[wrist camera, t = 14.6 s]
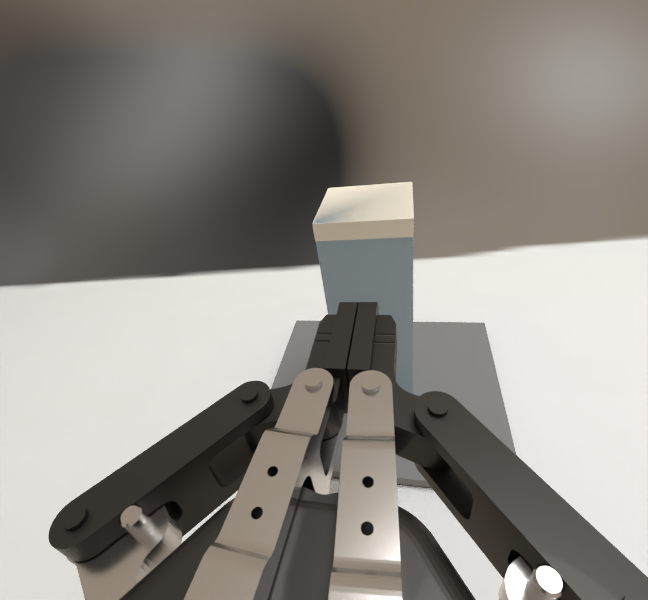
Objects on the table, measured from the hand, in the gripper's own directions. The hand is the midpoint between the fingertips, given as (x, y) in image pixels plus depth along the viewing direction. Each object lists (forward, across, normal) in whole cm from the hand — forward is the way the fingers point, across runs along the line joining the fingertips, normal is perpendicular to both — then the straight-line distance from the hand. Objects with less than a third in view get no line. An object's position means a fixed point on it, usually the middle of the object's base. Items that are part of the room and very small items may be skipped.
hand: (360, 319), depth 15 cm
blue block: (+4, 0, +9) cm, 10 cm away
